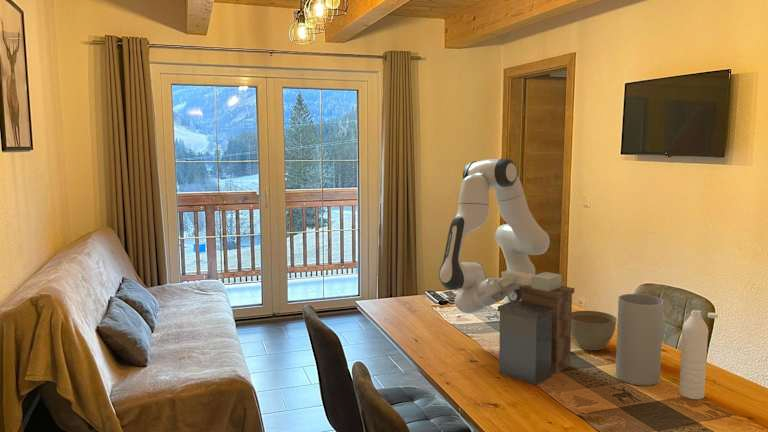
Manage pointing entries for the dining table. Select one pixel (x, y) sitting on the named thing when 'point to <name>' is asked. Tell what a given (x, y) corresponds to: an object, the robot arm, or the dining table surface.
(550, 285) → the mallet
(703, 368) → the water bottle
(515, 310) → the dark grey box
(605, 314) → the planter bowl
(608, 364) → the dining table surface
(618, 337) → the cylinder vase
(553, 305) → the tall stand
